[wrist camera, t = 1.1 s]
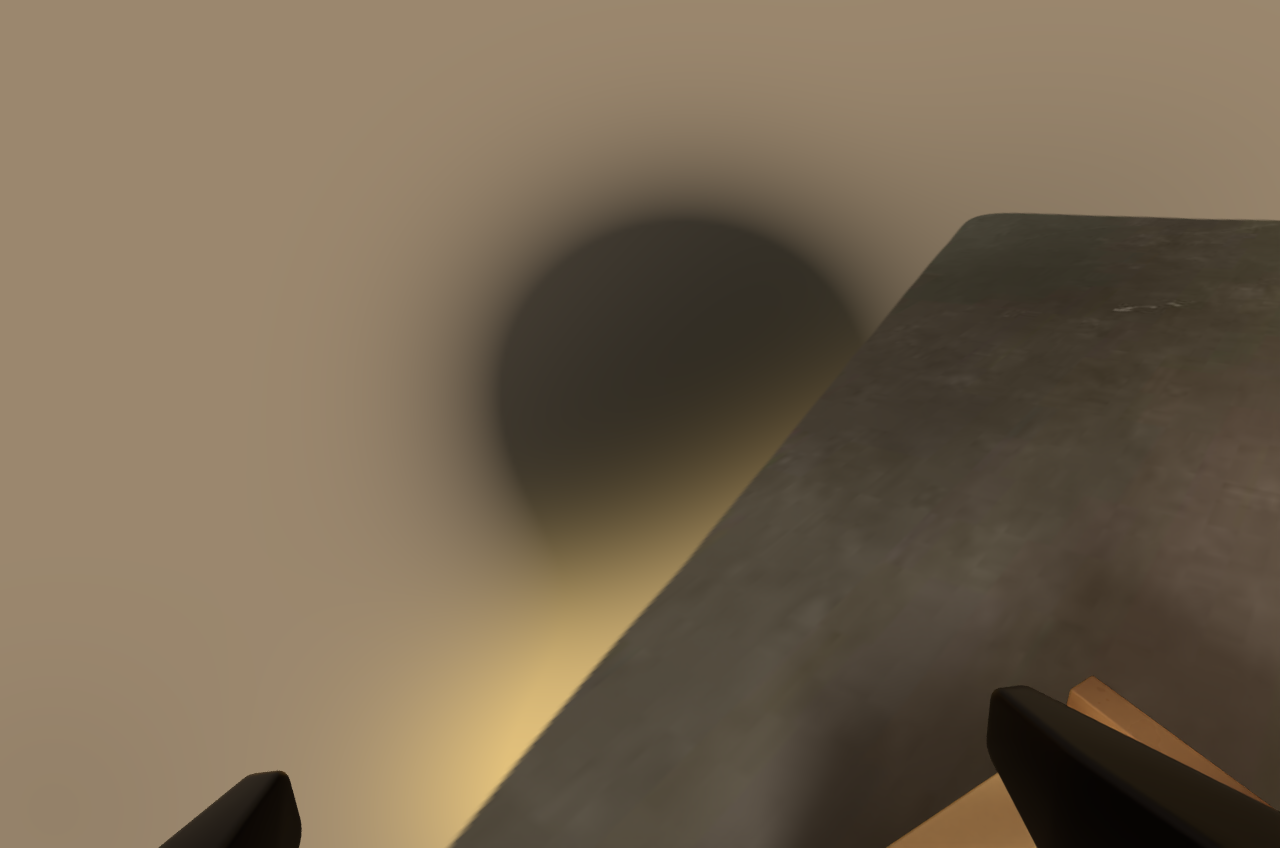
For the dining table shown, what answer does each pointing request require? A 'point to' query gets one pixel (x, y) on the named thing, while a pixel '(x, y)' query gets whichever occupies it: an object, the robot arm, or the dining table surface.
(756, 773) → the dining table surface
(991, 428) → the dining table surface
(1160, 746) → the rack
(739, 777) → the dining table surface
